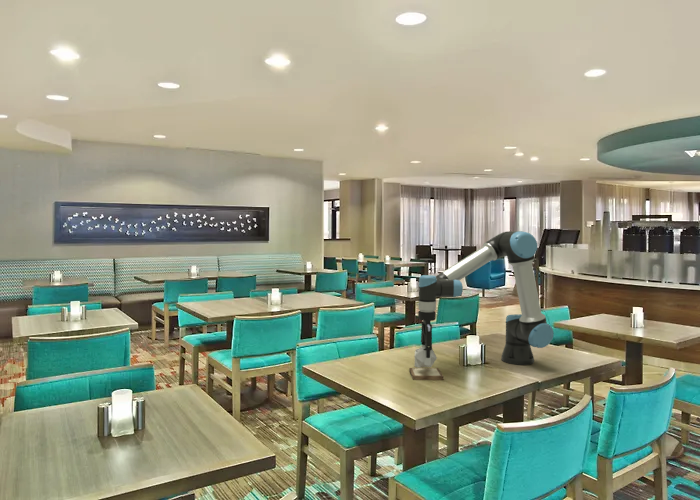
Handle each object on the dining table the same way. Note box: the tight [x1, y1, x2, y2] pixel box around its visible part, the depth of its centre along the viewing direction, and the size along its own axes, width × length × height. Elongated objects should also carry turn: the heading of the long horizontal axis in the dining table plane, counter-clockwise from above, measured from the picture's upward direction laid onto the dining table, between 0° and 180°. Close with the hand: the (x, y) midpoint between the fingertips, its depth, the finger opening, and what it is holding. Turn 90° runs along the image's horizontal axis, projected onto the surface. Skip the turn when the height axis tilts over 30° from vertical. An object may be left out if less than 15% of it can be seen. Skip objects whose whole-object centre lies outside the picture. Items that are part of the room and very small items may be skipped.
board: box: [408, 367, 444, 381], centre depth 222 cm, size 13×13×2 cm
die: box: [414, 346, 438, 368], centre depth 221 cm, size 8×9×10 cm
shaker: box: [414, 348, 420, 368], centre depth 236 cm, size 4×4×8 cm
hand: (425, 362), depth 221 cm, fingers closed on die, 8 cm apart
